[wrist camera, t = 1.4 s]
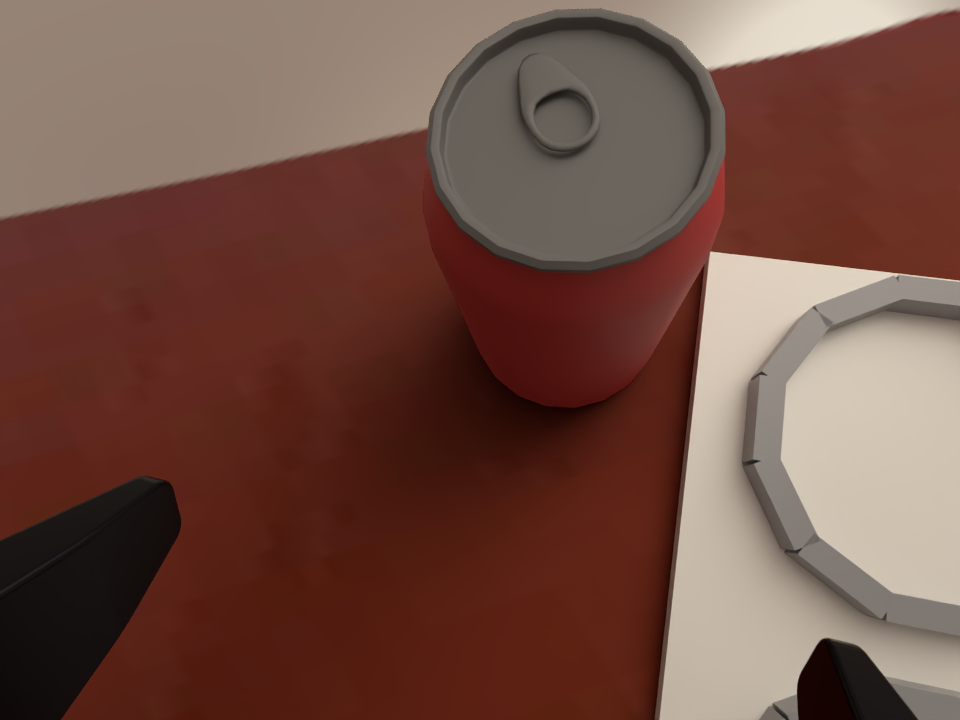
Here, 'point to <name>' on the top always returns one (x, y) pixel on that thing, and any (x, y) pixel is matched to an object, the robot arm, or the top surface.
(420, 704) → the top surface
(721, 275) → the board
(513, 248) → the beer can
